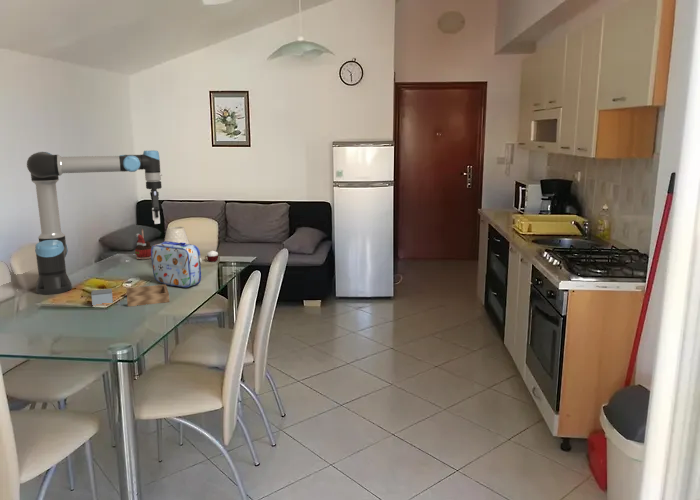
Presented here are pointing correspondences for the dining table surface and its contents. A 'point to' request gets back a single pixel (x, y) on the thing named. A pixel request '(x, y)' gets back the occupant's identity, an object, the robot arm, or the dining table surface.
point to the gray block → (102, 296)
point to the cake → (142, 248)
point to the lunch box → (176, 264)
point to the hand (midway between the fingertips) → (156, 221)
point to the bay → (147, 295)
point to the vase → (176, 235)
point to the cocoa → (213, 255)
